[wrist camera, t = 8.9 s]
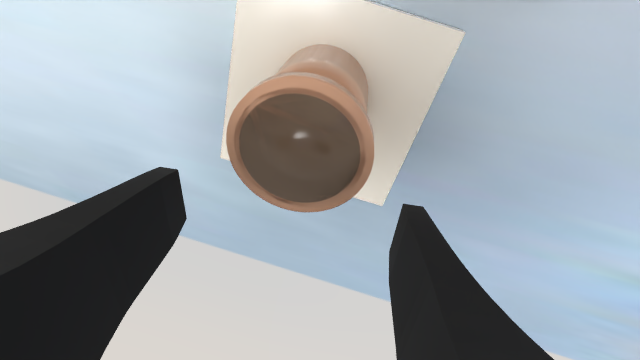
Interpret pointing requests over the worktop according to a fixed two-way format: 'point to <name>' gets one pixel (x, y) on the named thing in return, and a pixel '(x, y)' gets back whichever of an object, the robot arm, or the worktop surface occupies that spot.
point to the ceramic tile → (367, 48)
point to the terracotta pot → (305, 132)
